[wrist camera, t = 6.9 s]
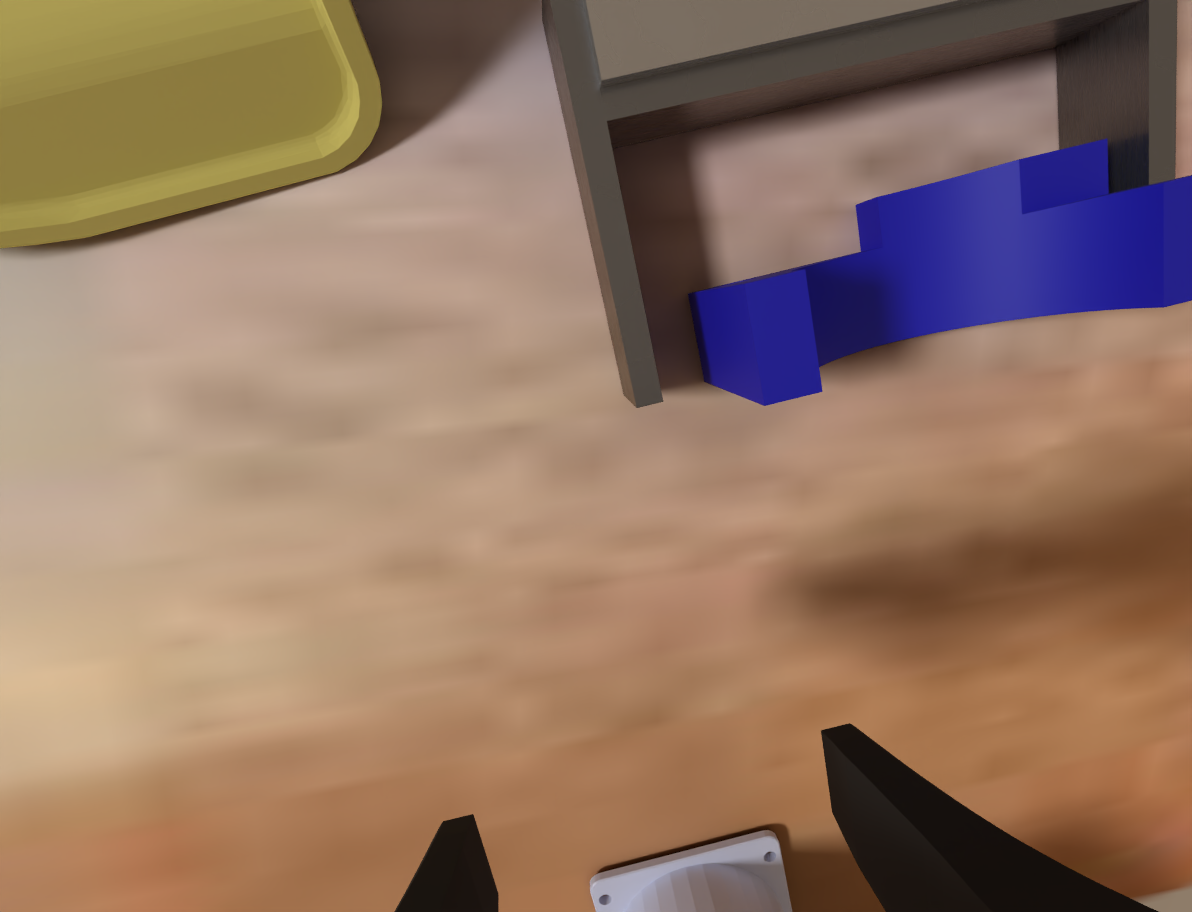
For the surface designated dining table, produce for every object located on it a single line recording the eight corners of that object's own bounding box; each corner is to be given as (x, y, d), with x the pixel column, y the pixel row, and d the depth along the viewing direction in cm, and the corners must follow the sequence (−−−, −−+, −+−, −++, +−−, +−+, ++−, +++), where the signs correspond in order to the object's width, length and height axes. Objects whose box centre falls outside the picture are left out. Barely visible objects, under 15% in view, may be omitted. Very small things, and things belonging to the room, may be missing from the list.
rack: (1096, 281, 21) (1204, 274, 17) (623, 395, 20) (639, 410, 17) (1089, -101, 18) (1215, -198, 15) (542, 20, 18) (541, -51, 14)
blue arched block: (1025, 164, 20) (1223, 101, 14) (1032, 300, 21) (1219, 293, 15) (677, 247, 20) (733, 218, 14) (702, 381, 21) (764, 405, 15)
